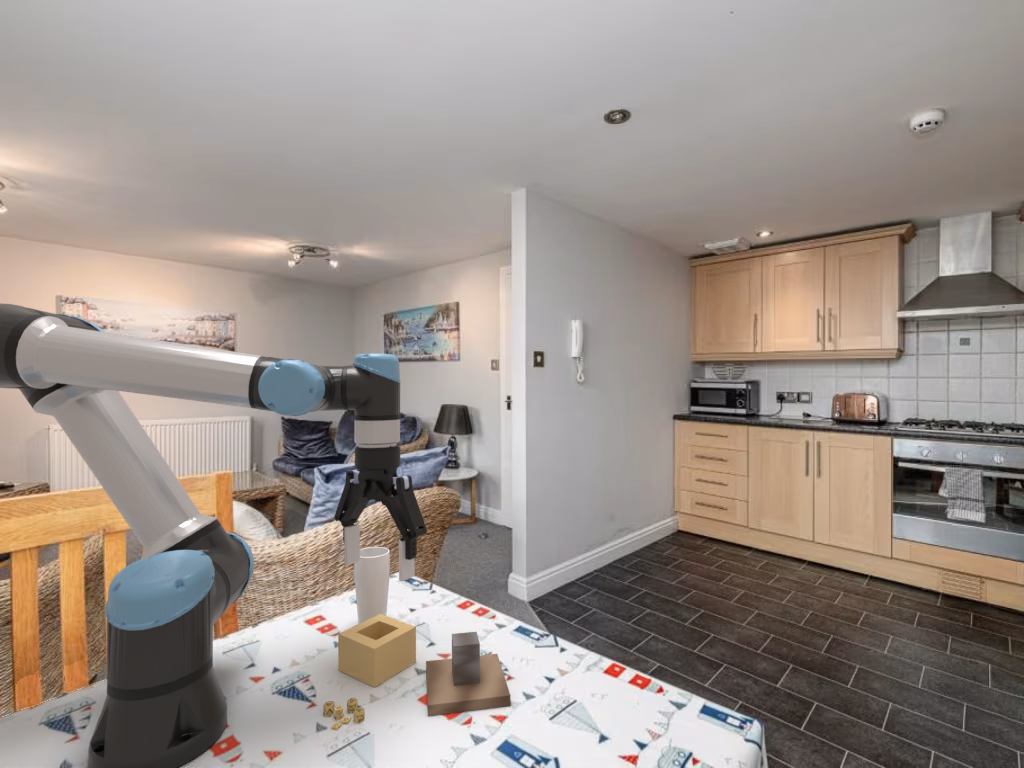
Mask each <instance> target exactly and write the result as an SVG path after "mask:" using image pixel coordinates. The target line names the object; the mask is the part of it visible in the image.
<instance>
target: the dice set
mask: <svg viewBox="0 0 1024 768" xmlns="http://www.w3.org/2000/svg"><path fill="white" fill-rule="evenodd" d="M358 703H359V699H358V698H357V697H351V698H349V699H348V700H347V702H346V712H347V713H348V714H353V719H352V717H350V716H344V713H343V711H344V705H343V704H340V705H336V706H335V702H334V701H333V700H332V701H331V700H330V701H326V702H324V704H323V714H322V715H323V716H324V717H325V718H328V717H332V716H333V715H334V716H333V717H334V719H335V720H336V721H334V723H333V724H332V725H331V727H330V729H331V730H334V731H338V730H339V729H340V728H341V727H342V725H349V723H350V722H351V720H353V722H354V723H355V724H360V723H361V724H362V723H363V722H364V720H365V708H364V707H362V706H361V707H359V704H358ZM338 720H341V722H338Z"/></svg>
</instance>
